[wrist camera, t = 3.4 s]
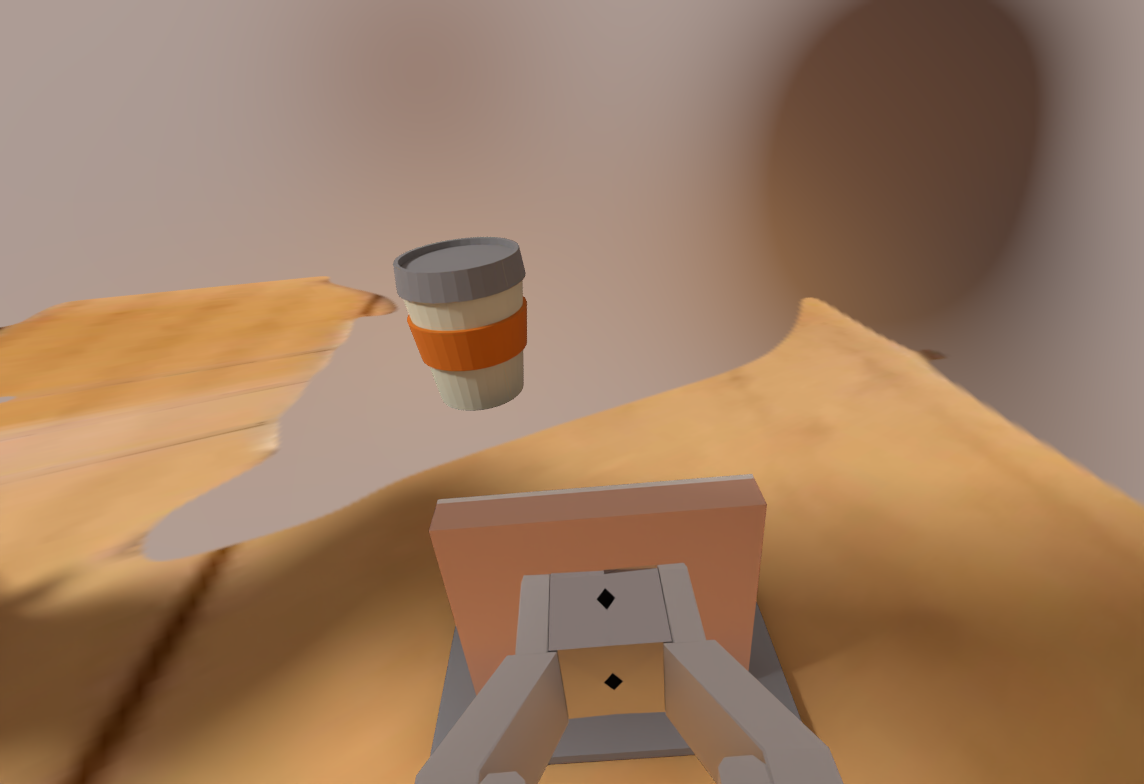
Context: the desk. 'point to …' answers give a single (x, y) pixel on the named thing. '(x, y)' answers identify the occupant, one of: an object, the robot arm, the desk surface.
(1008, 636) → the desk surface
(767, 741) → the robot arm
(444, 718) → the mat
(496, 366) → the reusable coffee cup
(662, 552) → the tile
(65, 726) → the desk surface
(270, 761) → the desk surface
